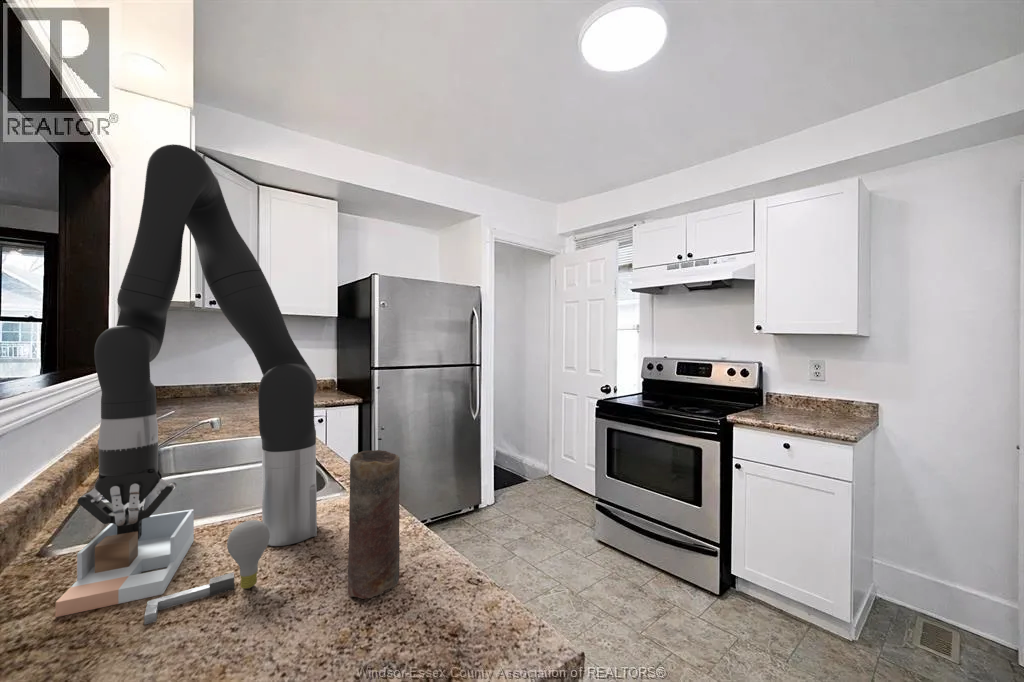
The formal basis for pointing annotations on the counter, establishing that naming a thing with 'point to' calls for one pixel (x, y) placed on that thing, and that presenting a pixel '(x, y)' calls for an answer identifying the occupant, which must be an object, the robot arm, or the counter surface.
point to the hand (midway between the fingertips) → (129, 544)
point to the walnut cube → (116, 551)
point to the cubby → (156, 549)
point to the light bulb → (248, 549)
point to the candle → (373, 523)
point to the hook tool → (188, 596)
